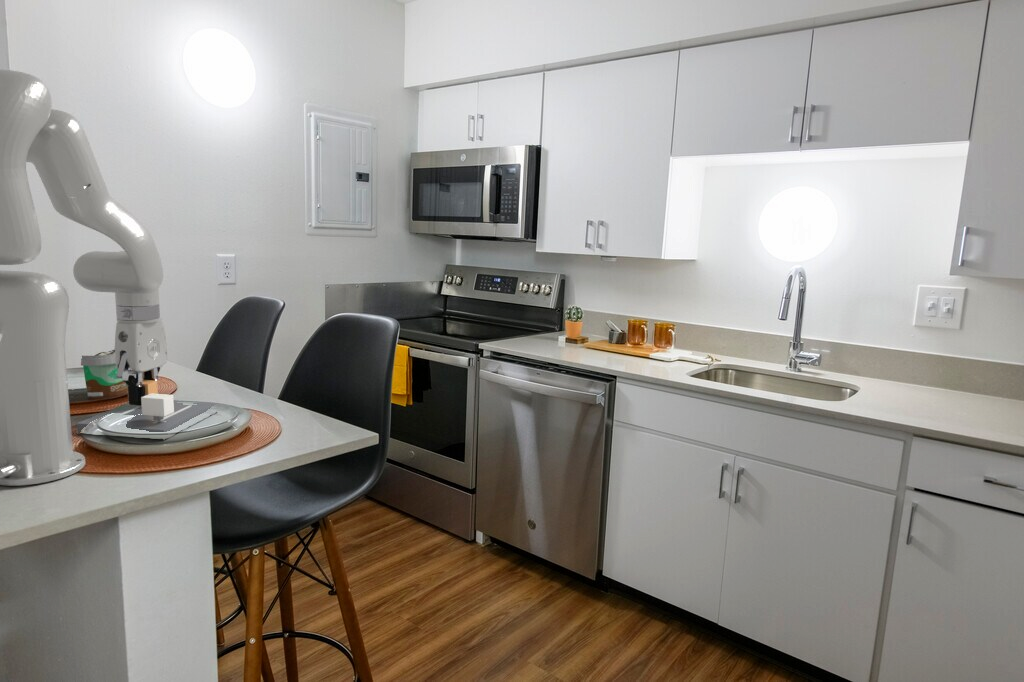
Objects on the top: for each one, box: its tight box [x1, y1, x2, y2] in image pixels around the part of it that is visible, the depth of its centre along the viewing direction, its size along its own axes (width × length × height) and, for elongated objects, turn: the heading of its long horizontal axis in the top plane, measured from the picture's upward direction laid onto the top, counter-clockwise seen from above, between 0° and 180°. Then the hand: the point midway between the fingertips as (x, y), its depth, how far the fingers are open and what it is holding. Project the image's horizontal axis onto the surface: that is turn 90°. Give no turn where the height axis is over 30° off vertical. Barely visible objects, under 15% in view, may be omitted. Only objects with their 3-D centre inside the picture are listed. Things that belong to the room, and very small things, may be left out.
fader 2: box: [141, 393, 175, 421], centre depth 122 cm, size 3×4×5 cm
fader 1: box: [127, 379, 159, 400], centre depth 131 cm, size 3×4×5 cm
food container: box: [80, 349, 128, 401], centre depth 144 cm, size 12×6×10 cm, turn 179°
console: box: [76, 399, 218, 435], centre depth 128 cm, size 18×17×2 cm
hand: (143, 401), depth 132 cm, fingers closed on fader 1, 3 cm apart
